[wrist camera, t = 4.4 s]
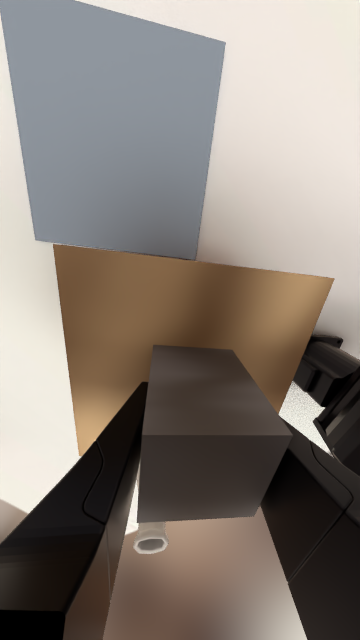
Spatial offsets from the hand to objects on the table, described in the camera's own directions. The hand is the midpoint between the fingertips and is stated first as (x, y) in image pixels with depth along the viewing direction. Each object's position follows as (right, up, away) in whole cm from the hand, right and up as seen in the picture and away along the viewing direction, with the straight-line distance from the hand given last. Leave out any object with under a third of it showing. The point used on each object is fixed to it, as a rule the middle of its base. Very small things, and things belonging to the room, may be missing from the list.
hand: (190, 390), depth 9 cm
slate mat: (-5, +16, +5) cm, 18 cm away
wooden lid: (0, +1, +1) cm, 2 cm away
